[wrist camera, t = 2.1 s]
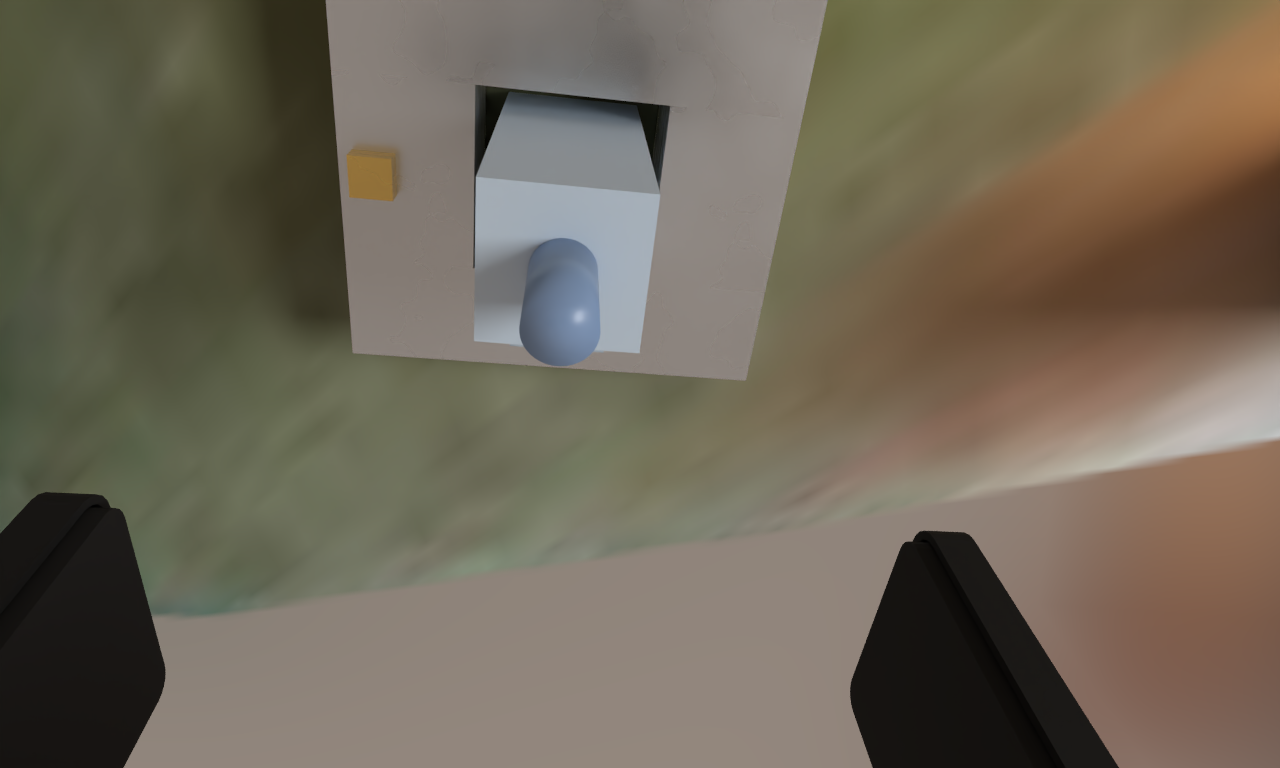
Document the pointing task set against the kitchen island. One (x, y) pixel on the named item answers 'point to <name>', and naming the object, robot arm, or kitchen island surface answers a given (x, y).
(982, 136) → the kitchen island surface
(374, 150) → the panel
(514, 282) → the plug
